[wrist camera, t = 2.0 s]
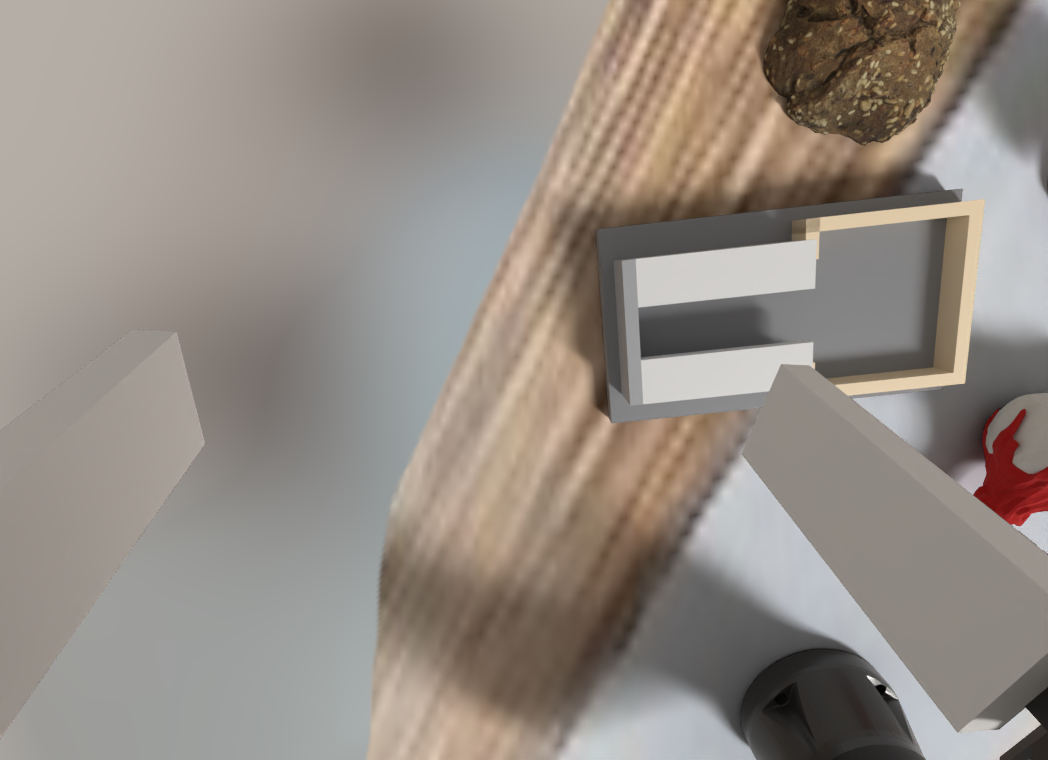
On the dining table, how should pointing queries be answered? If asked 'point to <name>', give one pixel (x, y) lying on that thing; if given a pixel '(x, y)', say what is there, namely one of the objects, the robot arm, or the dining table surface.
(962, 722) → the robot arm
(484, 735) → the dining table surface
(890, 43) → the bread roll
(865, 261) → the keyhole board
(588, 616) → the dining table surface
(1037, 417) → the white and red figurine
